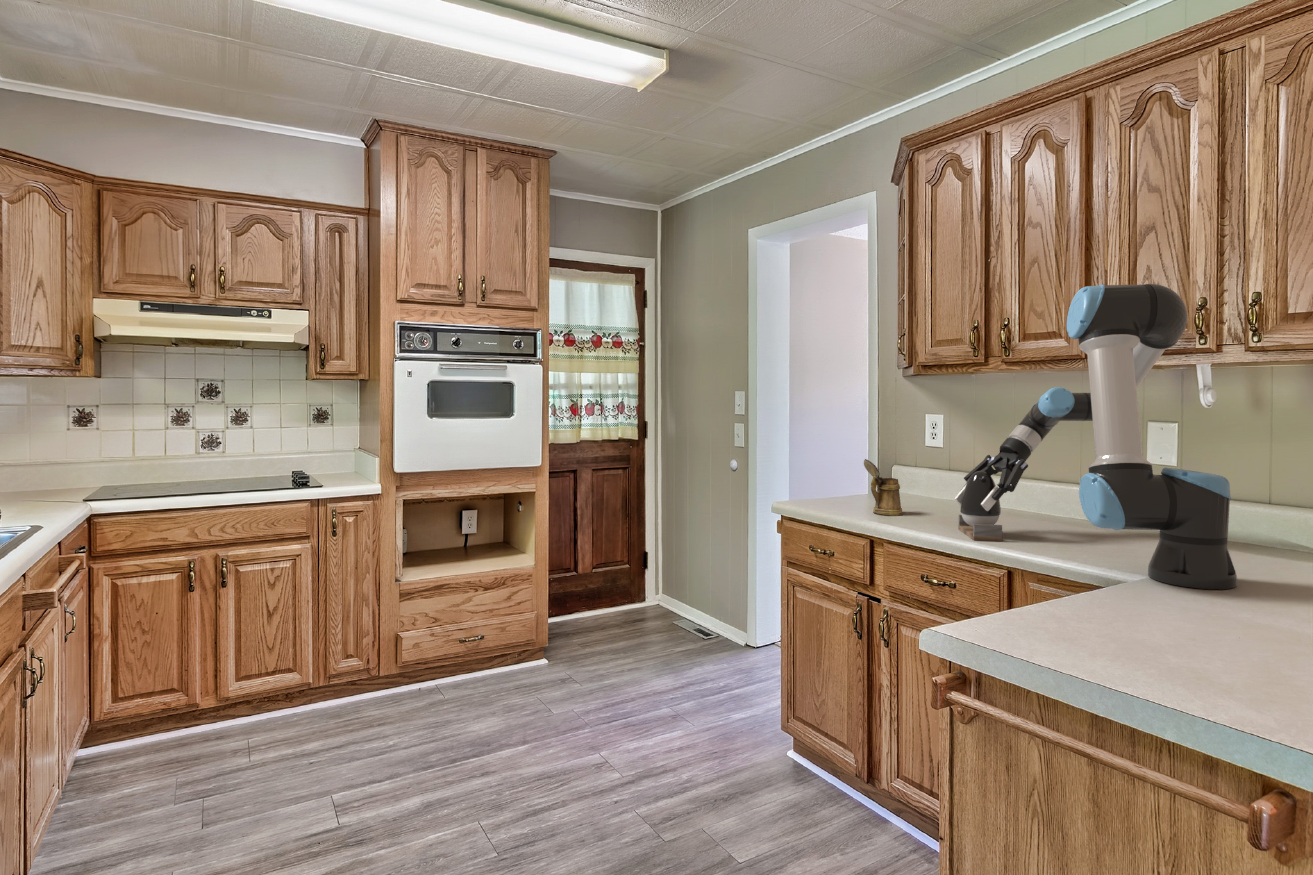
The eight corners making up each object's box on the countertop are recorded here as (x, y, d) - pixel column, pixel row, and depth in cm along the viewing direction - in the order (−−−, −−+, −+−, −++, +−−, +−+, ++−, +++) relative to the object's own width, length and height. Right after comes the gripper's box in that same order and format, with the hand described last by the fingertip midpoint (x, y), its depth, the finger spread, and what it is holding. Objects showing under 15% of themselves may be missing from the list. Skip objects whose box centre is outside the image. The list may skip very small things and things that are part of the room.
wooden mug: (855, 512, 243) (856, 457, 241) (891, 510, 247) (892, 456, 246) (872, 517, 234) (872, 460, 233) (908, 515, 239) (909, 458, 237)
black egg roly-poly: (963, 528, 202) (964, 472, 201) (957, 521, 212) (958, 468, 211) (1004, 530, 200) (1005, 473, 199) (995, 523, 210) (997, 469, 209)
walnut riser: (1001, 541, 198) (1002, 525, 197) (974, 540, 199) (974, 524, 198) (984, 529, 213) (984, 515, 213) (958, 529, 214) (958, 514, 214)
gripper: (1059, 458, 198) (1008, 520, 195) (997, 451, 220) (951, 507, 216) (1043, 438, 197) (992, 501, 193) (983, 433, 218) (936, 490, 214)
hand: (970, 504), depth 205 cm, fingers closed on black egg roly-poly, 10 cm apart
